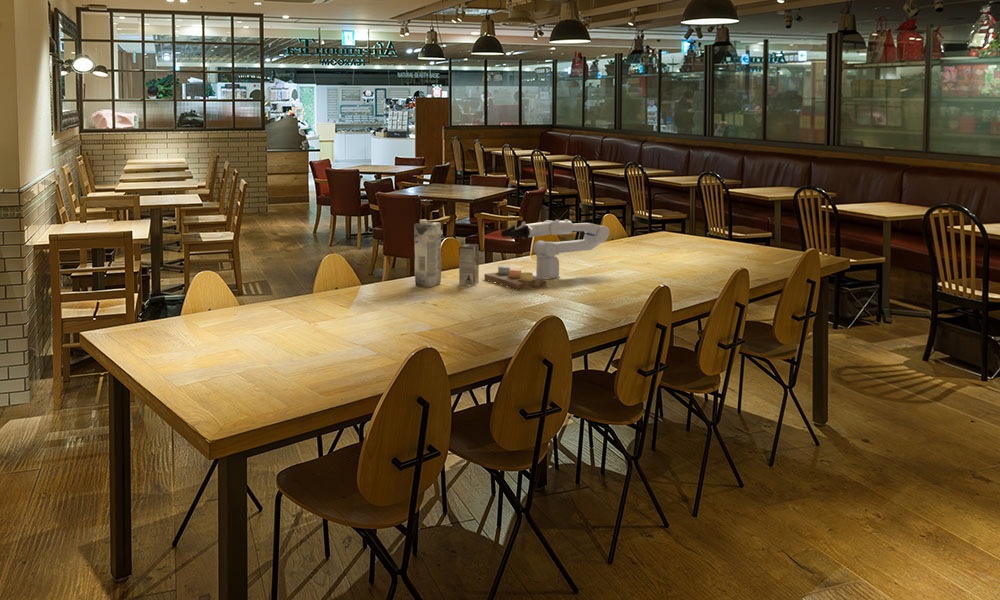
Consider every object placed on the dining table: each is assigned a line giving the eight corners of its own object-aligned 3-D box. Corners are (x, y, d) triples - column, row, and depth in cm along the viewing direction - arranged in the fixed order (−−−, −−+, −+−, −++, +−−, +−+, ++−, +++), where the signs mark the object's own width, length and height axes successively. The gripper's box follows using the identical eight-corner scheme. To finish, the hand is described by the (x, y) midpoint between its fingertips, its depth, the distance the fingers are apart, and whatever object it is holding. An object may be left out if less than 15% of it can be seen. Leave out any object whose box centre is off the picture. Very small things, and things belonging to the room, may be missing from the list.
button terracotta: (516, 276, 371) (516, 268, 370) (523, 278, 367) (523, 270, 366) (506, 277, 368) (506, 269, 367) (513, 279, 364) (513, 271, 363)
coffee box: (464, 281, 371) (464, 243, 368) (478, 281, 370) (479, 244, 367) (458, 285, 363) (458, 246, 359) (474, 286, 361) (474, 247, 358)
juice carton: (443, 283, 366) (443, 218, 360) (431, 288, 356) (430, 221, 351) (425, 281, 369) (424, 217, 364) (412, 286, 360) (411, 220, 354)
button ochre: (528, 279, 364) (528, 272, 363) (535, 281, 360) (535, 273, 359) (518, 281, 361) (518, 273, 360) (524, 283, 357) (525, 275, 356)
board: (511, 276, 382) (512, 270, 382) (546, 286, 361) (546, 280, 360) (484, 279, 375) (484, 273, 374) (518, 290, 354) (518, 284, 353)
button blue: (505, 273, 378) (505, 265, 377) (512, 275, 374) (512, 267, 373) (495, 274, 375) (496, 266, 374) (502, 276, 371) (502, 268, 370)
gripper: (523, 220, 379) (496, 224, 372) (542, 220, 366) (514, 224, 360) (525, 236, 380) (498, 240, 373) (543, 237, 367) (516, 241, 361)
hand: (506, 233), depth 366 cm, fingers open, 7 cm apart
